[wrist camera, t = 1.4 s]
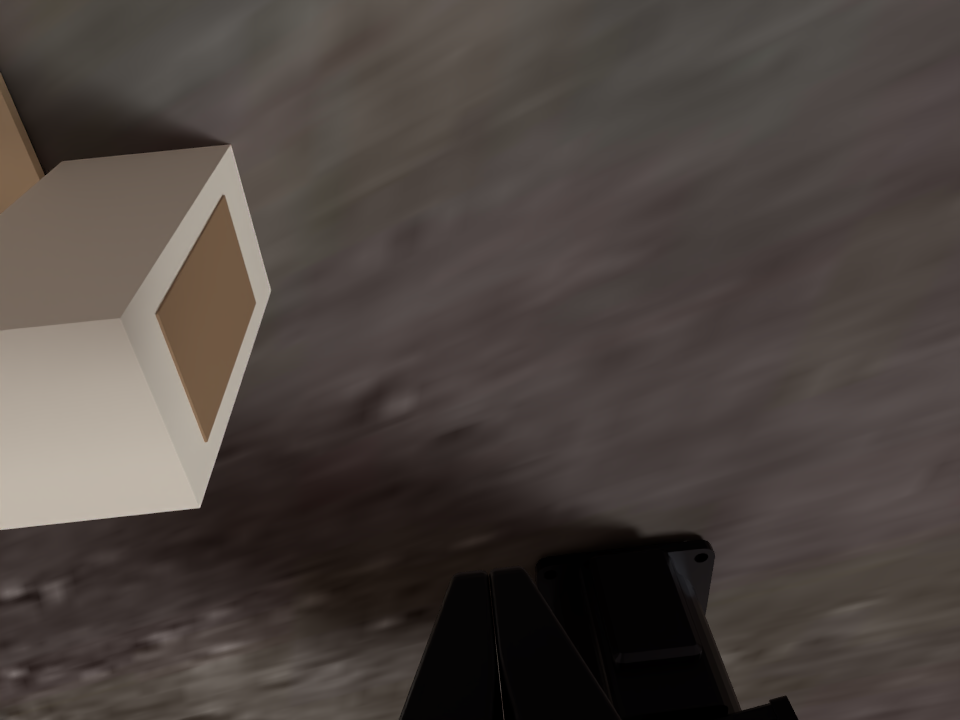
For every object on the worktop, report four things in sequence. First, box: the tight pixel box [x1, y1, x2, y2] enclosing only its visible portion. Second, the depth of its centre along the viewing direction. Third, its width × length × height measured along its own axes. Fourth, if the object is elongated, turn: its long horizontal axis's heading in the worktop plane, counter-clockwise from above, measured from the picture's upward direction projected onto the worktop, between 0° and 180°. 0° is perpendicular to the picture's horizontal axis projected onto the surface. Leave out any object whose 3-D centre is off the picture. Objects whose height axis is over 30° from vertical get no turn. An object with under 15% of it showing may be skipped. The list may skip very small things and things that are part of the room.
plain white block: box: [0, 144, 271, 530], centre depth 15 cm, size 4×4×8 cm
